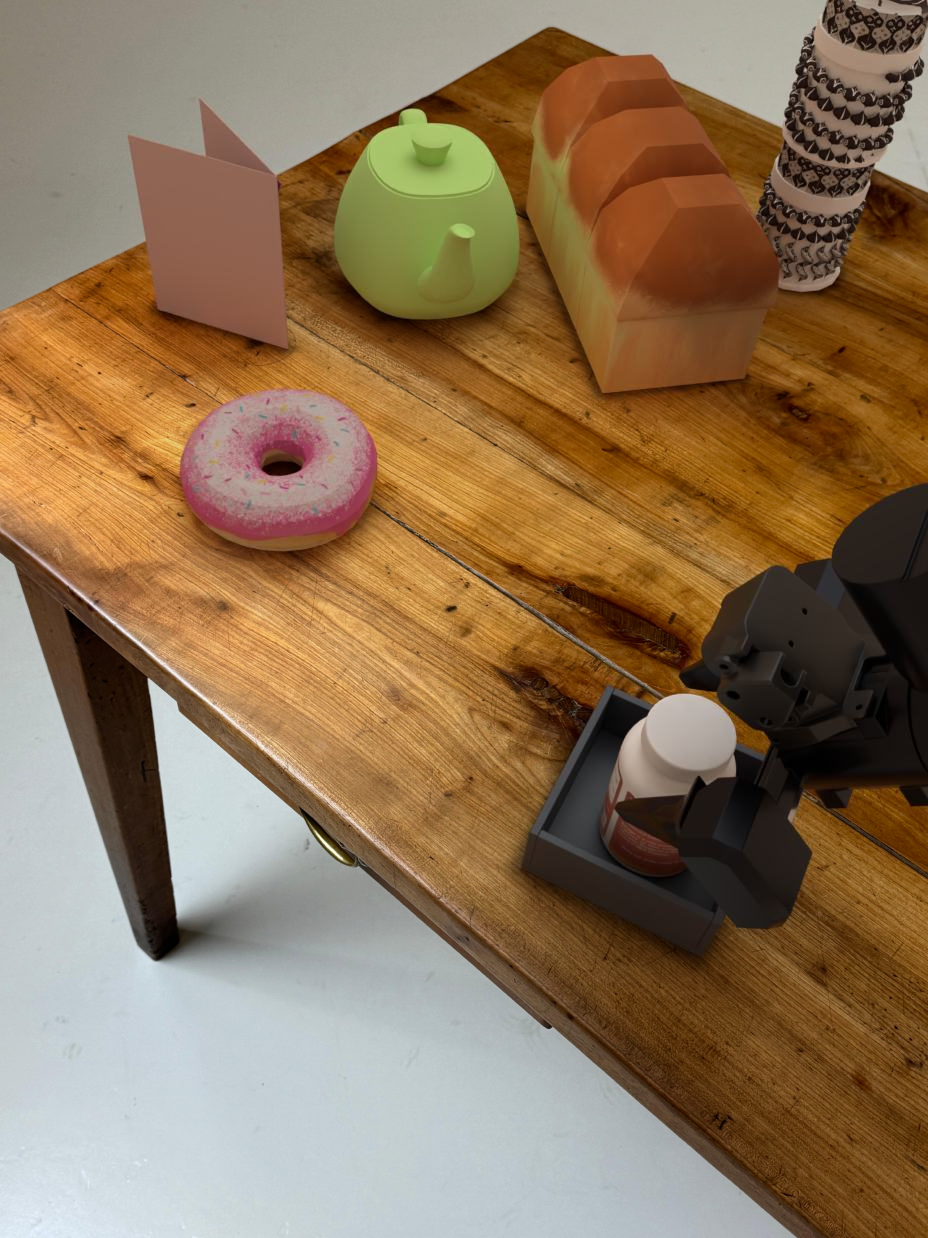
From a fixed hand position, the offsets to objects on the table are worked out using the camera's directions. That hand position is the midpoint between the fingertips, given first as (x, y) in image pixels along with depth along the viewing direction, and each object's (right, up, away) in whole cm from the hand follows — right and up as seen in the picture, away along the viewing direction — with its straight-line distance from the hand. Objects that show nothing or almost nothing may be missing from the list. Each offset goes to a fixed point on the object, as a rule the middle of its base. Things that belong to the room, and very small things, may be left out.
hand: (652, 743), depth 62 cm
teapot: (-13, +34, +36) cm, 51 cm away
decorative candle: (+19, +38, +42) cm, 59 cm away
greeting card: (-29, +30, +32) cm, 53 cm away
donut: (-23, +15, +21) cm, 35 cm away
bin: (+1, -6, +7) cm, 9 cm away
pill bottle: (+1, -6, +7) cm, 9 cm away
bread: (+4, +34, +38) cm, 51 cm away
